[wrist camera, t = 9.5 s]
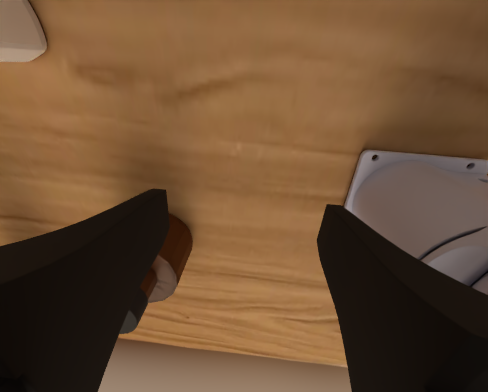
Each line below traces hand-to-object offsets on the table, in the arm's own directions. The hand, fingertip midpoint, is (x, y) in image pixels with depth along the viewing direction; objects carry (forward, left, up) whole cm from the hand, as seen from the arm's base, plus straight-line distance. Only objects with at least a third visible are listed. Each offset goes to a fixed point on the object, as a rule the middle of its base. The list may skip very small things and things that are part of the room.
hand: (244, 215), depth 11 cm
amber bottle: (+9, +10, -9) cm, 16 cm away
